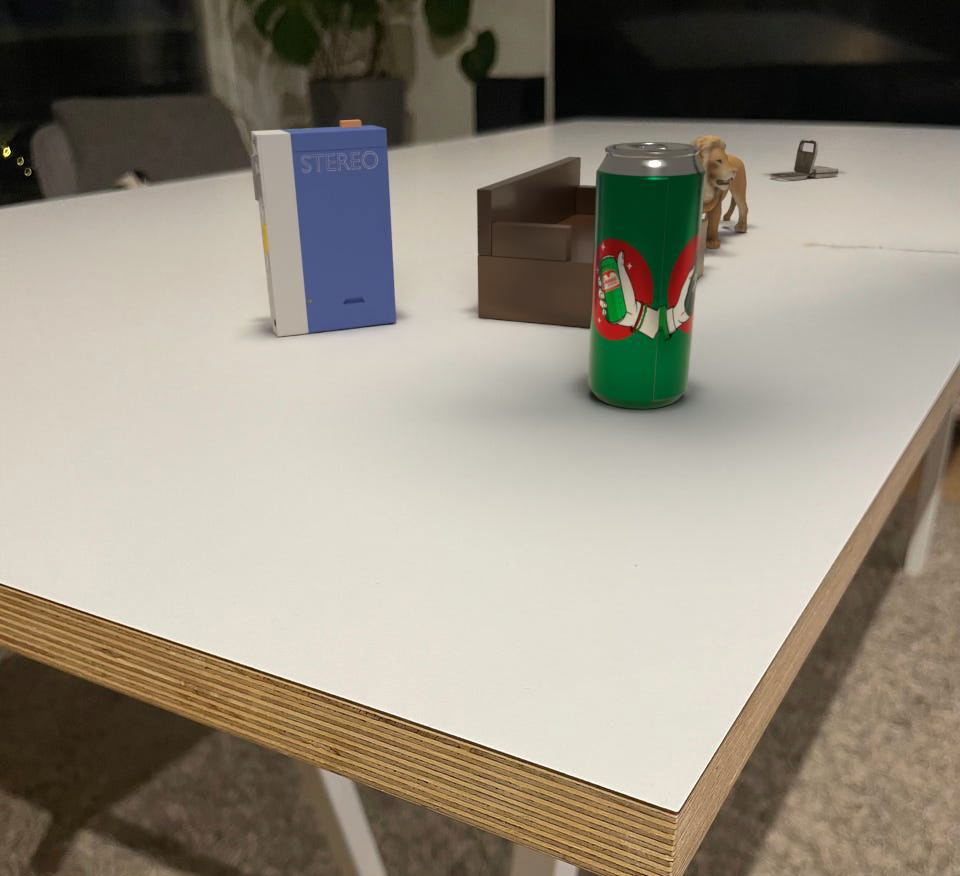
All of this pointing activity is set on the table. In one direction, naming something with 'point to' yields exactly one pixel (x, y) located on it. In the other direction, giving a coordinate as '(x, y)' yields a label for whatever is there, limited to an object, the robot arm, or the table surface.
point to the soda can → (644, 272)
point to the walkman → (325, 226)
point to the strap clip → (806, 165)
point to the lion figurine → (721, 186)
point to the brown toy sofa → (540, 246)
